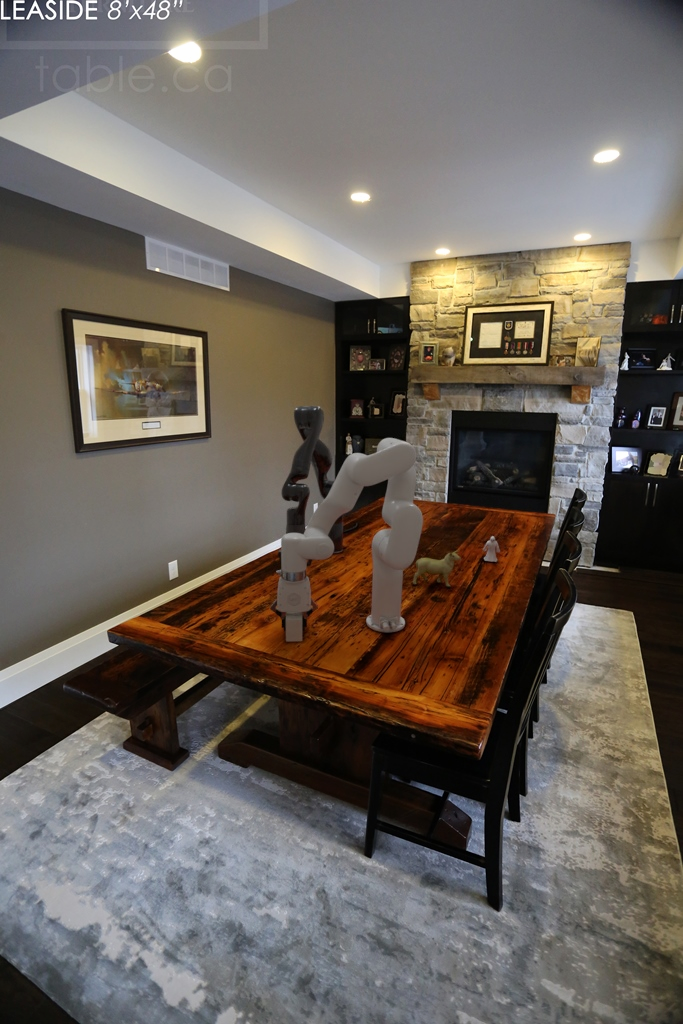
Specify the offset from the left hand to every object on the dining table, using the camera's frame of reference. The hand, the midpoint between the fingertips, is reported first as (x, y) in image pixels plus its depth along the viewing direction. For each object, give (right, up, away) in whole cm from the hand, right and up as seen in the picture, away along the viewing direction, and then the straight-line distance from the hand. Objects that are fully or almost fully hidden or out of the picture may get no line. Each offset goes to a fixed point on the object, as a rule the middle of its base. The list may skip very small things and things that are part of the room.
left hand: (295, 575), depth 196 cm
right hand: (+3, -11, -42) cm, 43 cm away
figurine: (+85, +3, +29) cm, 90 cm away
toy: (+55, -4, 0) cm, 55 cm away
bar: (+2, -8, -20) cm, 22 cm away
